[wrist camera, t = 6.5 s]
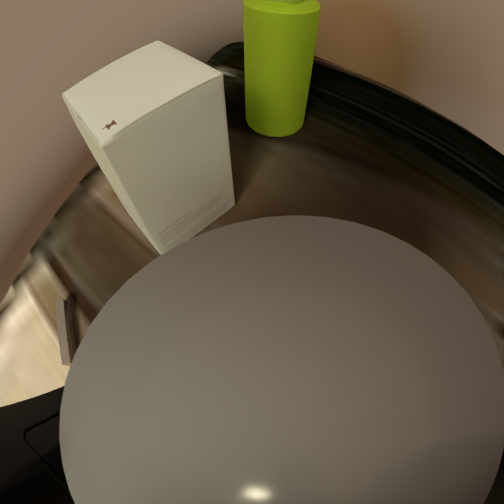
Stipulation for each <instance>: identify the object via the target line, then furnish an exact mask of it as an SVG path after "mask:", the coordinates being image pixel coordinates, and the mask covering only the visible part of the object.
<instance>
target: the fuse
mask: <svg viewBox="0 0 504 504" xmlns="http://www.w3.org/2000/svg"><path fill="white" fill-rule="evenodd" d="M59 439H60V449H61V457H62V465H63V469H64V473H65V476H66V480H67V484H68V487H69V490H70V493H71V496H72V498H73V500H74V503H75V504H484V502H485V500H486V498H487V496H488V494H489V492H490V489H491V487H492V485H493V483H494V480H495V477H496V474H497V471H498V468H499V465H500V461H501V458H502V454H503V449H504V371H503V366H502V362H501V358H500V355H499V352H498V349H497V346H496V344H495V341H494V338H493V335H492V333H491V331H490V329H489V327H488V325H487V323H486V322H485V320H484V318H483V316H482V314H481V312H480V311H479V309H478V308H477V306H476V305H475V304H474V302H473V301H472V299H471V298H470V296H469V295H468V294H467V292H466V291H465V290H464V289H463V288H462V287H461V286H460V285H459V283H458V282H457V281H456V280H455V279H454V278H453V277H452V276H451V275H450V274H449V273H448V272H447V271H446V270H445V269H443V268H442V267H441V266H440V265H439V264H437V263H436V262H435V261H434V260H433V259H431V258H430V257H429V256H427V255H426V254H424V253H423V252H421V251H419V250H418V249H416V248H415V247H413V246H412V245H410V244H408V243H407V242H405V241H403V240H400V239H398V238H396V237H394V236H392V235H390V234H388V233H385V232H383V231H381V230H378V229H375V228H371V227H368V226H365V225H362V224H359V223H356V222H351V221H346V220H340V219H335V218H329V217H319V216H303V215H291V216H274V217H264V218H258V219H253V220H247V221H242V222H237V223H233V224H230V225H227V226H224V227H221V228H217V229H214V230H211V231H208V232H205V233H203V234H201V235H199V236H196V237H194V238H192V239H190V240H188V241H185V242H183V243H181V244H179V245H177V246H175V247H174V248H172V249H171V250H169V251H167V252H166V253H164V254H162V255H161V256H159V257H158V258H156V259H154V260H153V261H151V262H150V263H149V264H148V265H146V266H145V267H144V268H143V269H141V270H140V271H139V272H138V273H136V274H135V275H134V276H133V277H131V278H130V279H129V280H128V281H127V282H126V283H125V284H124V285H123V286H122V287H121V288H120V289H119V290H118V291H117V292H116V293H115V294H114V295H113V296H112V297H111V299H110V300H109V301H108V302H107V303H106V304H105V306H104V307H103V308H102V310H101V311H100V312H99V314H98V315H97V317H96V318H95V319H94V321H93V322H92V324H91V325H90V326H89V328H88V330H87V332H86V334H85V336H84V338H83V339H82V341H81V343H80V345H79V347H78V349H77V351H76V353H75V356H74V358H73V361H72V364H71V367H70V370H69V372H68V375H67V378H66V382H65V387H64V392H63V397H62V402H61V408H60V428H59Z"/></svg>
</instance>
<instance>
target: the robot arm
mask: <svg viewBox="0 0 504 504" xmlns="http://www.w3.org/2000/svg"><path fill="white" fill-rule="evenodd" d="M64 387H65V386H63V387H61V388H58V389H56V390H53V391H50V392H48V393H45V394H42V395H39V396H37V397H34V398H31V399H27V400H24V401H21V402H17V403H14V404H11V405H7V406H3V407H0V504H75V503H74V500H73V498H72V496H71V493H70V490H69V487H68V484H67V480H66V476H65V473H64V469H63V465H62V457H61V449H60V439H59V428H60V408H61V402H62V397H63V392H64ZM484 504H504V449H503V454H502V458H501V461H500V465H499V468H498V471H497V474H496V477H495V480H494V483H493V485H492V487H491V489H490V492H489V494H488V496H487V498H486V500H485V502H484Z"/></svg>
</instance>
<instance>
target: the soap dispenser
mask: <svg viewBox="0 0 504 504" xmlns="http://www.w3.org/2000/svg"><path fill="white" fill-rule="evenodd" d="M243 6H244V7H243V11H244V59H245V105H246V121H247V123H248V125H249V126H250V127H251V128H252V129H253V130H254V131H256V132H258V133H260V134H263V135H266V136H271V137H283V136H288V135H291V134H294V133H295V132H297V131H298V130H299V129H300V128H301V127H302V125H303V123H304V117H305V110H306V104H307V98H308V92H309V85H310V79H311V72H312V66H313V59H314V52H315V45H316V38H317V31H318V24H319V17H320V9H321V6H320V4H319V3H318V2H317V1H315V0H244V1H243Z"/></svg>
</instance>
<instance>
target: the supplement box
mask: <svg viewBox="0 0 504 504" xmlns="http://www.w3.org/2000/svg"><path fill="white" fill-rule="evenodd" d="M62 96H63V99H64V101H65V103H66V105H67V107H68V109H69V111H70V113H71V116H72V117H73V120H74V122H75V123H76V125H77V127H78V129H79V130H80V132H81V134H82V136H83V138H84V140H85V141H86V143H87V145H88V147H89V148H90V150H91V152H92V154H93V155H94V157H95V159H96V161H97V162H98V164H99V166H100V168H101V169H102V171H103V173H104V174H105V176H106V178H107V179H108V181H109V183H110V184H111V186H112V188H113V189H114V191H115V193H116V194H117V196H118V198H119V199H120V201H121V203H122V204H123V206H124V207H125V209H126V210H127V212H128V213H129V215H130V216H131V218H132V219H133V220H134V222H135V223H136V224H137V226H138V227H139V228H140V230H141V231H142V232H143V233H144V235H145V236H146V237H147V239H148V240H149V241H150V242H151V244H152V245H153V246H154V247H155V248H156V250H157V251H158V252H159V253H160V255H162V254H164V253H166V252H167V251H169V250H171V249H172V248H174V247H175V246H177V245H179V244H181V243H183V242H185V241H188V240H190V239H191V238H192V237H194V236H195V235H196V234H198V233H199V232H200V231H202V230H203V229H204V228H206V227H207V226H208V225H210V224H211V223H212V222H214V221H215V220H216V219H218V218H219V217H220V216H222V215H223V214H225V213H226V212H227V211H228V210H230V209H231V208H232V207H233V206H234V205H235V198H234V188H233V178H232V168H231V158H230V148H229V137H228V127H227V116H226V105H225V94H224V83H223V73H221V72H219V71H217V70H216V69H214V68H212V67H210V66H208V65H206V64H204V63H202V62H200V61H198V60H197V59H194V58H193V57H191V56H189V55H187V54H185V53H183V52H181V51H179V50H177V49H175V48H173V47H171V46H169V45H167V44H165V43H163V42H161V41H155V42H153V43H151V44H148V45H146V46H144V47H142V48H140V49H138V50H136V51H134V52H132V53H130V54H128V55H126V56H124V57H122V58H120V59H118V60H116V61H114V62H112V63H111V64H109V65H107V66H105V67H104V68H102V69H100V70H99V71H97V72H95V73H94V74H92V75H90V76H89V77H87V78H85V79H84V80H82V81H81V82H79V83H78V84H76V85H75V86H73V87H72V88H70V89H69V90H67V91H66V92H64V93H63V94H62Z"/></svg>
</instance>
